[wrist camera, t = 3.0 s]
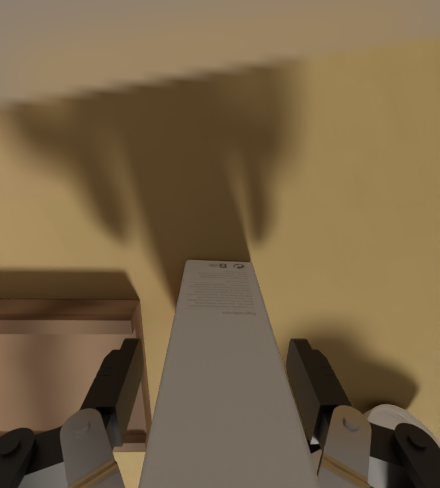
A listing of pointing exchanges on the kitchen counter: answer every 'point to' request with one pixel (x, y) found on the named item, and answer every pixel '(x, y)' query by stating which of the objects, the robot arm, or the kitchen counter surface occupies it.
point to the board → (64, 361)
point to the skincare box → (224, 392)
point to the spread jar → (382, 417)
